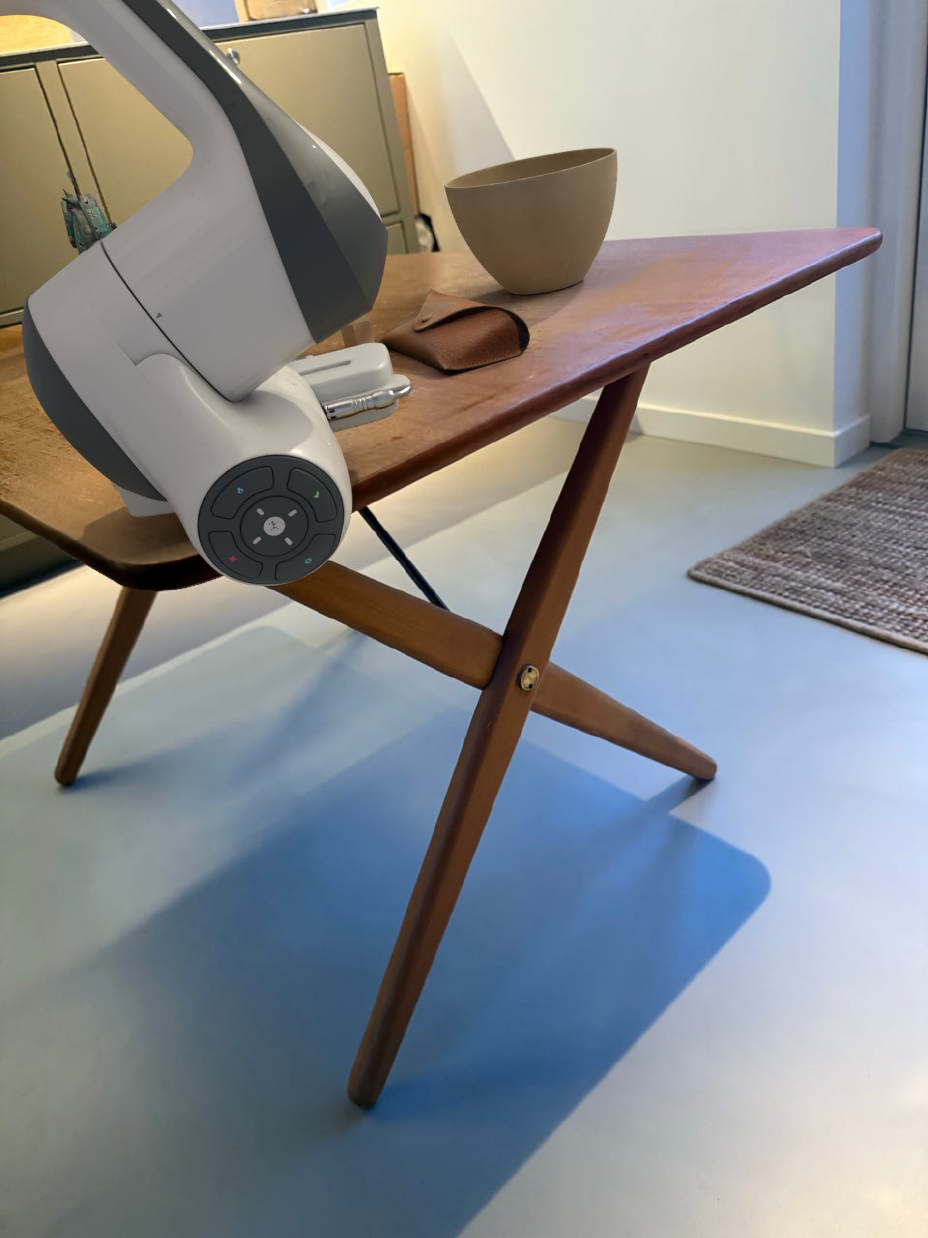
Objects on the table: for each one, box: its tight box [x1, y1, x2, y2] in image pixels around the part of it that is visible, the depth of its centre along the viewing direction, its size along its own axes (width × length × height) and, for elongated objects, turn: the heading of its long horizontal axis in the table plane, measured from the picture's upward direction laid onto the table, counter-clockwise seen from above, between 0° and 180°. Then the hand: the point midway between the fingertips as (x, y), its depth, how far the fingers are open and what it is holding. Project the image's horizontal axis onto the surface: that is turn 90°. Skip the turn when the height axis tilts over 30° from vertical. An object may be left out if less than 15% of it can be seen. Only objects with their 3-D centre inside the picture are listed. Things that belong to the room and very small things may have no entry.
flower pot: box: [443, 147, 618, 296], centre depth 106 cm, size 18×18×12 cm
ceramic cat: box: [60, 171, 118, 256], centre depth 132 cm, size 20×6×20 cm, turn 23°
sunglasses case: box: [377, 288, 531, 371], centre depth 92 cm, size 18×7×7 cm
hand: (242, 383), depth 72 cm, fingers closed on medicine box, 8 cm apart
